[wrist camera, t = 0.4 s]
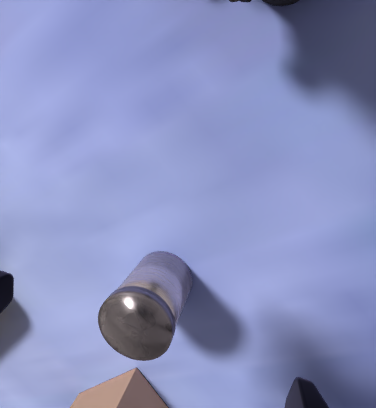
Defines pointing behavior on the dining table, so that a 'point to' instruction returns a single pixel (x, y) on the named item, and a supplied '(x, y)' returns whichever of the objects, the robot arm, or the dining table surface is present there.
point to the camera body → (121, 393)
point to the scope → (272, 2)
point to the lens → (146, 307)
